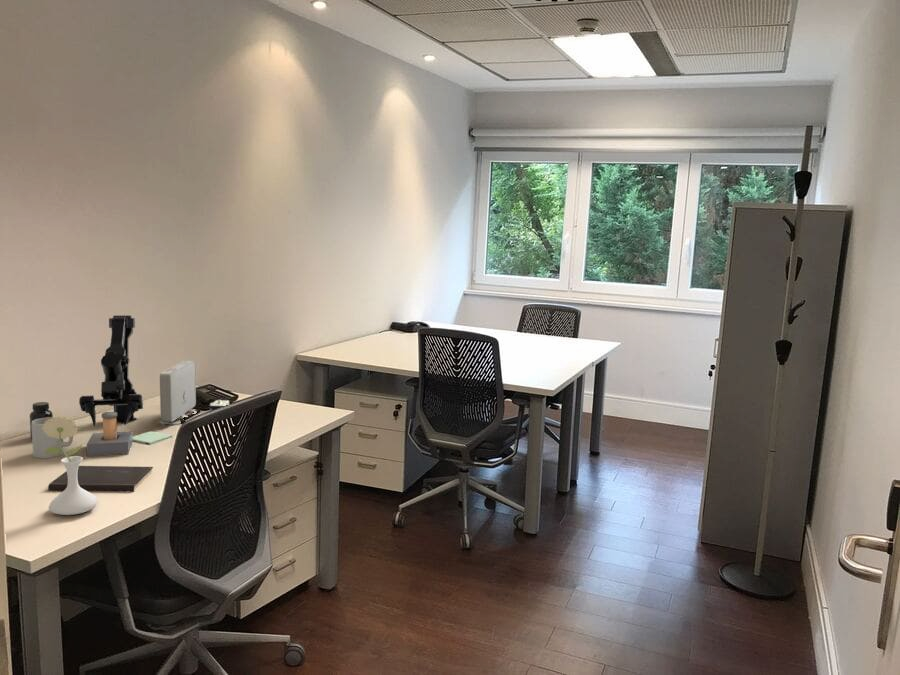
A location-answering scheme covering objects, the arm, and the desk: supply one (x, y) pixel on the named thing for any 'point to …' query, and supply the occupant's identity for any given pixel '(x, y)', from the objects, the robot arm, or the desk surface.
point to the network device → (177, 392)
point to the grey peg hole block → (109, 444)
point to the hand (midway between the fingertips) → (109, 424)
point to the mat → (151, 437)
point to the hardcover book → (104, 478)
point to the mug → (45, 440)
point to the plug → (109, 425)
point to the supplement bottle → (39, 412)
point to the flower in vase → (68, 471)
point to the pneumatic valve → (218, 404)
